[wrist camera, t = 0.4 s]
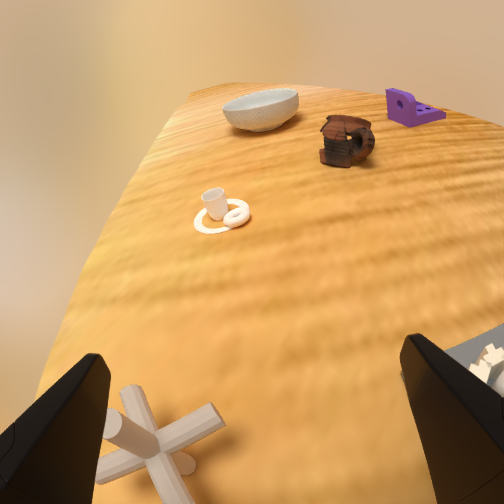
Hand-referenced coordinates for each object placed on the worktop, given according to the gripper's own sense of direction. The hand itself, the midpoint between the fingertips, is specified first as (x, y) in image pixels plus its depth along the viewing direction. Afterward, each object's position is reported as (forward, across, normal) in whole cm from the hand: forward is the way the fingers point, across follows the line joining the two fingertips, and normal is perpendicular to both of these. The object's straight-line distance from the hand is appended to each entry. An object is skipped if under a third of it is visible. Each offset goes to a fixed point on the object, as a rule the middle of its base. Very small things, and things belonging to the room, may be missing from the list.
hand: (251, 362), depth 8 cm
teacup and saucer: (+32, +5, +12) cm, 35 cm away
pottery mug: (+44, -17, +5) cm, 47 cm away
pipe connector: (+3, +6, +17) cm, 18 cm away
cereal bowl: (+68, -4, +3) cm, 68 cm away
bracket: (+57, -37, 0) cm, 68 cm away
